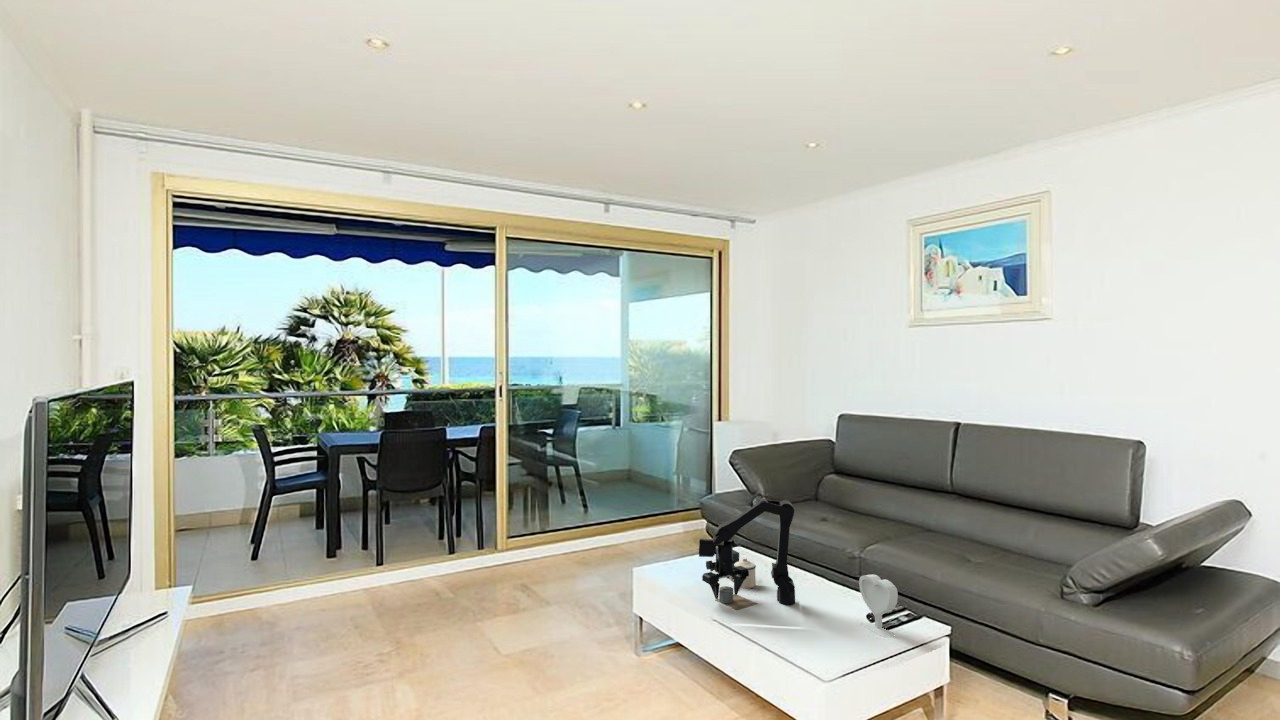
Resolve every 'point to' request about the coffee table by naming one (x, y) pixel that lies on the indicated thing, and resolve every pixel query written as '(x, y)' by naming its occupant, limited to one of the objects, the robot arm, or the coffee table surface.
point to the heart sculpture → (878, 600)
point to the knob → (726, 594)
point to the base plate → (739, 602)
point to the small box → (735, 557)
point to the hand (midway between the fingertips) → (726, 596)
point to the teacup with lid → (749, 579)
